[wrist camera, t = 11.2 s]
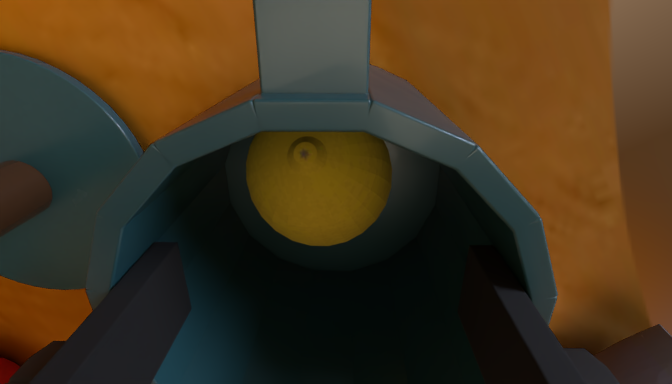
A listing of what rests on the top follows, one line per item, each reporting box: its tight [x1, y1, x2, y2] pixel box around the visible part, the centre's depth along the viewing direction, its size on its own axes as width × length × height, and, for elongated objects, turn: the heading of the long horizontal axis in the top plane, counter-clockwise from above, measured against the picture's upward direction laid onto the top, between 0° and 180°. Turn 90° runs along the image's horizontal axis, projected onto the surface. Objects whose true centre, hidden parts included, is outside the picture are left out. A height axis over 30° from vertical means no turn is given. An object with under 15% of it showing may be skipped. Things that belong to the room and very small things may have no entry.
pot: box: [85, 0, 558, 384], centre depth 15 cm, size 12×18×10 cm
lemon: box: [246, 132, 392, 246], centre depth 14 cm, size 6×6×8 cm
